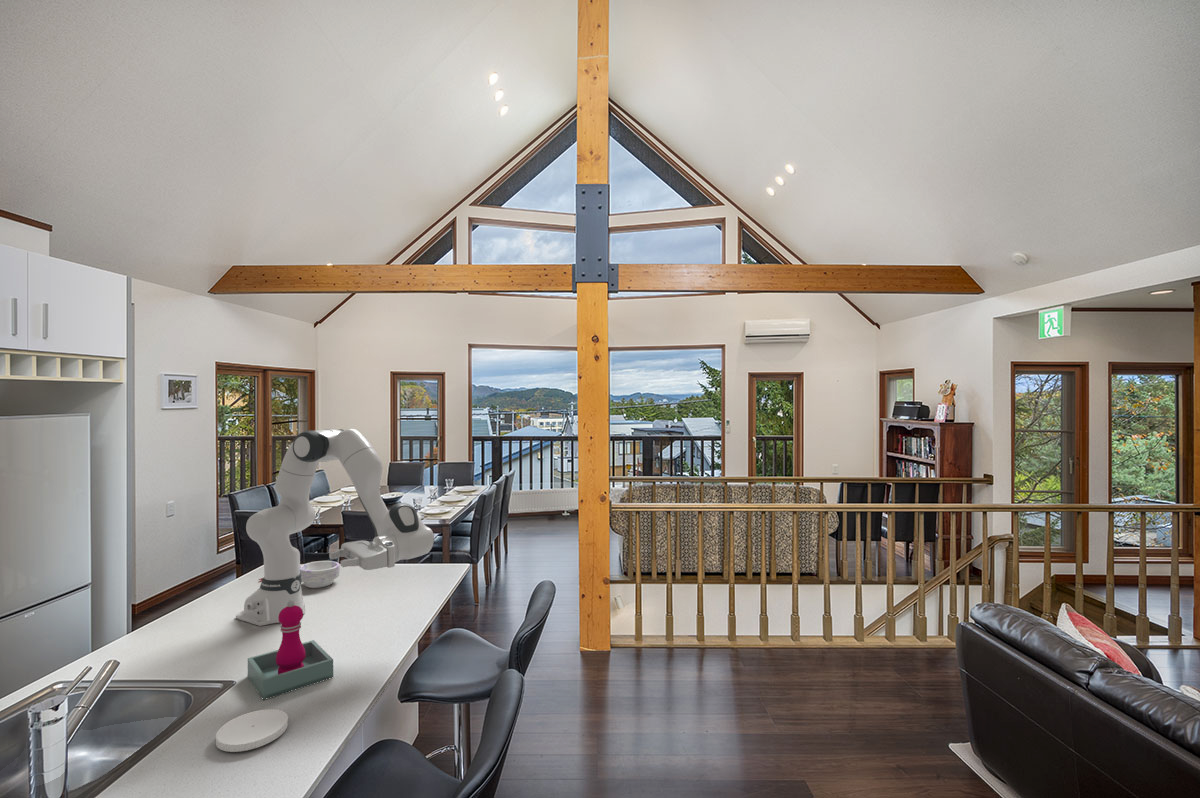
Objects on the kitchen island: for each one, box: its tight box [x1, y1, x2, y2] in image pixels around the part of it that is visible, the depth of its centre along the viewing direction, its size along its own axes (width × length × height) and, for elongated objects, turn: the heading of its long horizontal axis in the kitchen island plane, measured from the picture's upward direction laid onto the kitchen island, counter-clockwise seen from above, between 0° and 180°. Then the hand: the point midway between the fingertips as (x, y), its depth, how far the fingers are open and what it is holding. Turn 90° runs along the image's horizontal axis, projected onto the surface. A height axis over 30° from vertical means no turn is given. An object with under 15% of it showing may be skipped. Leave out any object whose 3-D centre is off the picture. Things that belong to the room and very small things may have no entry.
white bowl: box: [300, 560, 341, 589], centre depth 233 cm, size 15×15×8 cm
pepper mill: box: [276, 601, 306, 674], centre depth 156 cm, size 7×7×20 cm
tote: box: [247, 639, 334, 700], centre depth 156 cm, size 17×17×5 cm
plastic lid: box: [215, 708, 289, 753], centre depth 129 cm, size 14×14×2 cm
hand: (335, 560), depth 164 cm, fingers open, 8 cm apart
